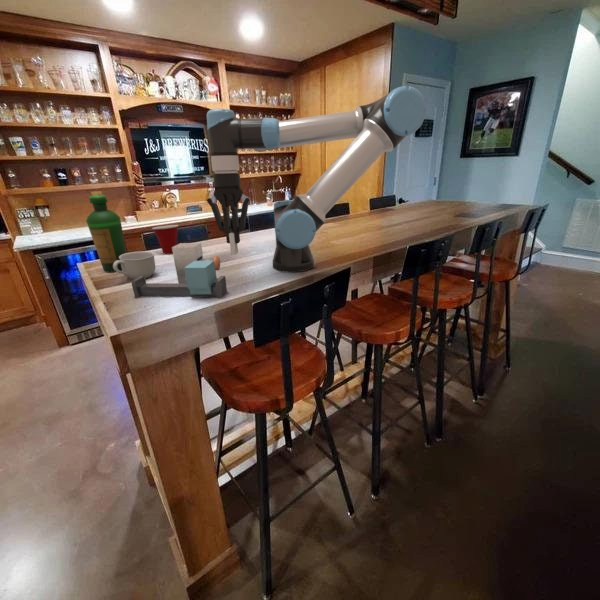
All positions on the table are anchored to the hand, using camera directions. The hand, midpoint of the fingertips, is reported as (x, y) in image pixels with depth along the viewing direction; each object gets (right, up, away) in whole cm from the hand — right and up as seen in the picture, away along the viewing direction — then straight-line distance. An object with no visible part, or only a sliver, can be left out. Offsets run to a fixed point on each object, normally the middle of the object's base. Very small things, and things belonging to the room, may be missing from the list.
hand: (234, 253), depth 100 cm
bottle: (-49, -3, +21) cm, 53 cm away
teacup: (-36, -7, +10) cm, 38 cm away
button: (-9, -5, +3) cm, 10 cm away
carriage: (-7, -12, -7) cm, 16 cm away
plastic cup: (-38, +6, +43) cm, 58 cm away
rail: (-14, -13, -6) cm, 20 cm away
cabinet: (-14, -8, +5) cm, 17 cm away
